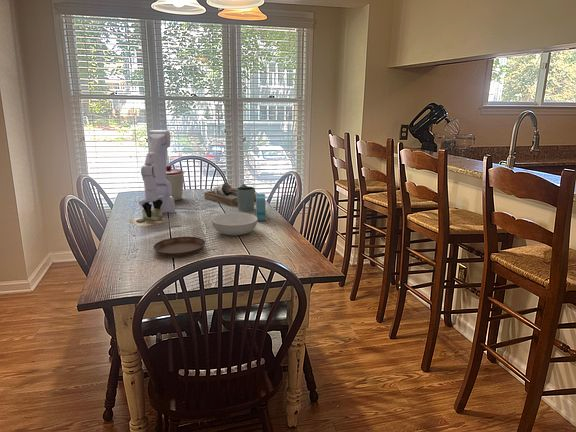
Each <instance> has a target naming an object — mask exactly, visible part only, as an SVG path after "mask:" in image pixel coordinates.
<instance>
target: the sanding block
mask: <svg viewBox="0 0 576 432" xmlns="http://www.w3.org/2000/svg"><path fill="white" fill-rule="evenodd" d="M141 211H142V213H141V214H142V217H143V219H147V220H152V221H158V220H161V219H162V218H163V213H162V209H156V208H154V207H151V218H149V217H147V215H146V212H145V210H144V208H142V209H141Z"/></svg>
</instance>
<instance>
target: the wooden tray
mask: <svg viewBox="0 0 576 432" xmlns="http://www.w3.org/2000/svg"><path fill="white" fill-rule="evenodd" d="M231 189H232V192H237V188H233V187H231ZM256 194H257V193H255V196H254V202H256ZM203 195H204V199H205V200H209V201H213V202H215V203H220V204H223V205H227V206H231V207H232V206H238V196H237V194H230V195H229V196H234V197H233V198H231V197H227V196H225V197H223V196H220V195H216V194H214V189H213V190H209V191H204V193H203Z"/></svg>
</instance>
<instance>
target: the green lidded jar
mask: <svg viewBox="0 0 576 432" xmlns="http://www.w3.org/2000/svg"><path fill="white" fill-rule="evenodd" d="M236 189H237V196H236V197H238V205H237V207H238V209H237V210H238V211H240V212H251V211H254V209H255V201H254V196H255V194H256V187H254V186H248V187H241V186H239V187H237V188H236Z"/></svg>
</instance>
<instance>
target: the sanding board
mask: <svg viewBox="0 0 576 432" xmlns="http://www.w3.org/2000/svg"><path fill="white" fill-rule="evenodd" d="M138 219H143V216H139V217H133V218H129V219H125V222H128V223H130V224H132V225H133V224H134V225H135V226H138V227H140V228H144V227H148V226H153V225H157V224H163V223H166V222H167V223H168V222H170V220H169V219H166V218H164V217H162V219H161V220H158V221H152V220H147V219H144V220H145V222H142V223H138V222H136V220H138Z"/></svg>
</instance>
